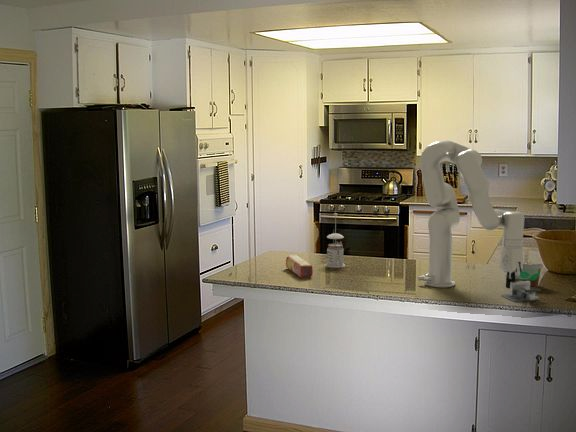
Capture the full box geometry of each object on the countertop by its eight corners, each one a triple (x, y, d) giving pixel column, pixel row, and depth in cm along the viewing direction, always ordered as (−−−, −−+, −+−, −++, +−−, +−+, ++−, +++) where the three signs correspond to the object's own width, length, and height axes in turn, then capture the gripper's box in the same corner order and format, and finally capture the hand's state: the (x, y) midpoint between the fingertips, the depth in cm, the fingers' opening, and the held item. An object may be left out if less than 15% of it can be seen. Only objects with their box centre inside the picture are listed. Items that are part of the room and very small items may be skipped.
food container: (509, 286, 296) (511, 263, 294) (510, 283, 302) (512, 260, 300) (541, 289, 292) (542, 265, 290) (541, 286, 297) (543, 262, 296)
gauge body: (514, 302, 273) (514, 293, 272) (501, 296, 281) (501, 288, 281) (539, 300, 276) (539, 291, 275) (525, 294, 284) (526, 286, 284)
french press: (340, 262, 343) (341, 211, 339) (350, 267, 332) (351, 214, 328) (321, 263, 340) (322, 212, 336) (330, 269, 329) (331, 215, 325)
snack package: (313, 278, 312) (313, 263, 311) (299, 279, 310) (299, 264, 309) (298, 268, 332) (298, 253, 331) (285, 269, 330) (285, 254, 329)
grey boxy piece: (523, 300, 270) (523, 287, 269) (509, 294, 278) (510, 282, 278) (545, 298, 272) (545, 285, 272) (531, 292, 281) (531, 280, 280)
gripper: (494, 239, 288) (491, 284, 291) (515, 246, 274) (512, 293, 276) (510, 239, 290) (508, 282, 293) (532, 245, 276) (529, 292, 278)
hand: (510, 287), depth 285 cm, fingers closed
